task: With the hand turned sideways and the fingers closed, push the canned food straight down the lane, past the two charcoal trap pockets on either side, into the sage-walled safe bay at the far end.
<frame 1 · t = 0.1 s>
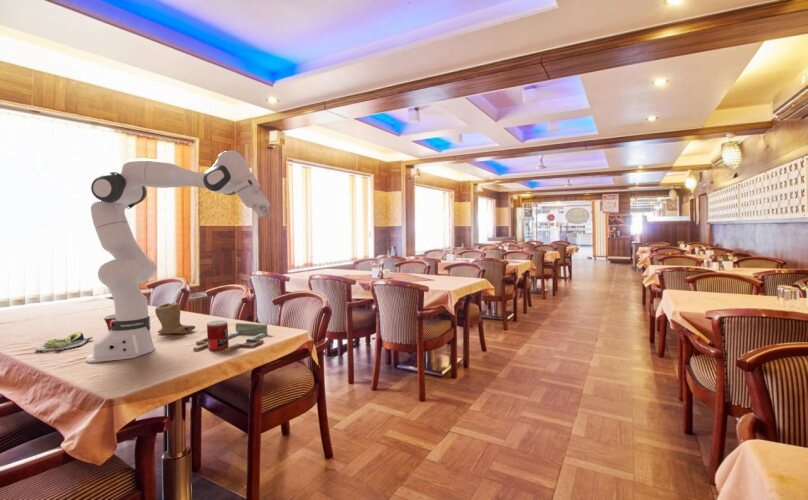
hand: (265, 216, 161), 54 cm above the table, tool tilted 30°, fingers open, 8 cm apart
salad plate: (64, 346, 176), on the table
plastic cup: (119, 340, 183), on the table
canned food: (218, 348, 165), on the table
lane: (233, 342, 174), on the table
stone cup: (173, 334, 192), on the table
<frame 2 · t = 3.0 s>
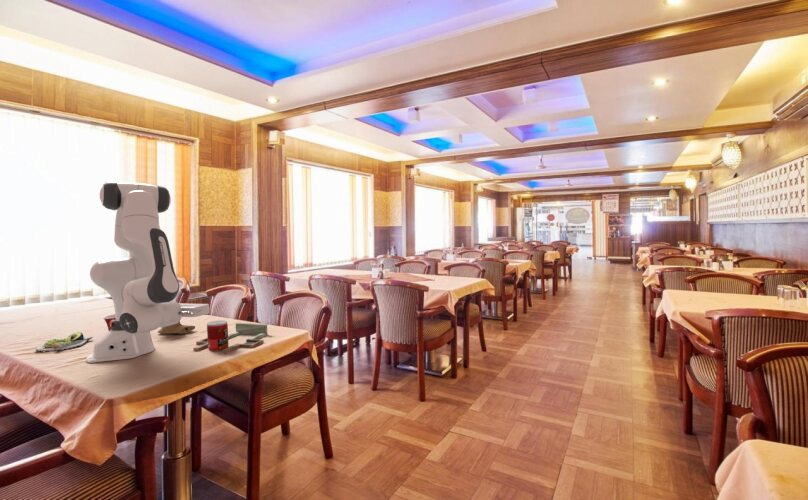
hand: (197, 305, 155), 20 cm above the table, tool horizontal, fingers open, 7 cm apart
nothing on the table moved.
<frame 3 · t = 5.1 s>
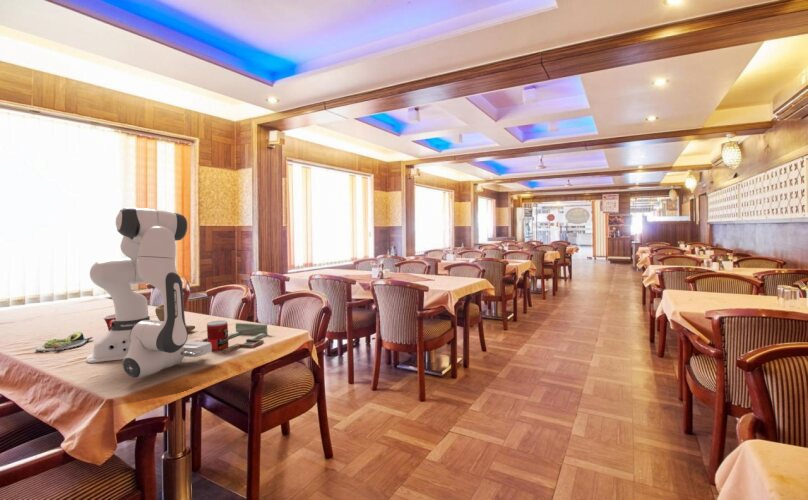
hand: (200, 342, 155), 6 cm above the table, tool horizontal, fingers closed
nothing on the table moved.
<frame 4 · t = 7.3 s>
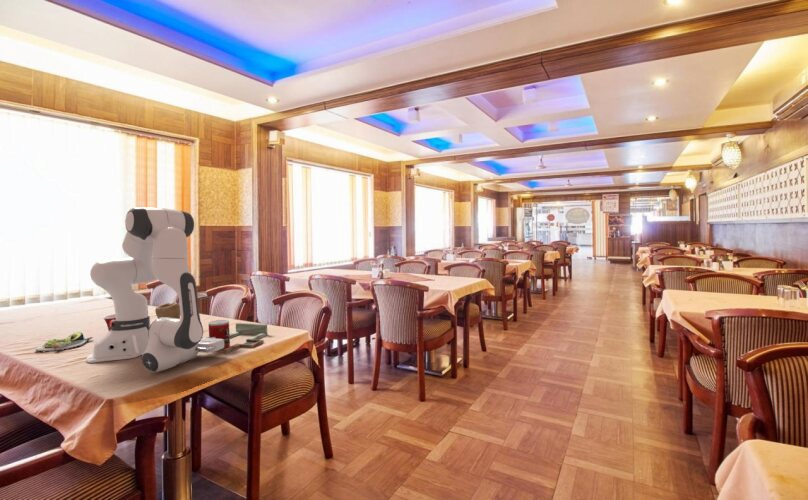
hand: (212, 338, 162), 5 cm above the table, tool horizontal, fingers closed, pressing on canned food
canned food: (220, 348, 166), on the table, touching gripper
everything else where it was.
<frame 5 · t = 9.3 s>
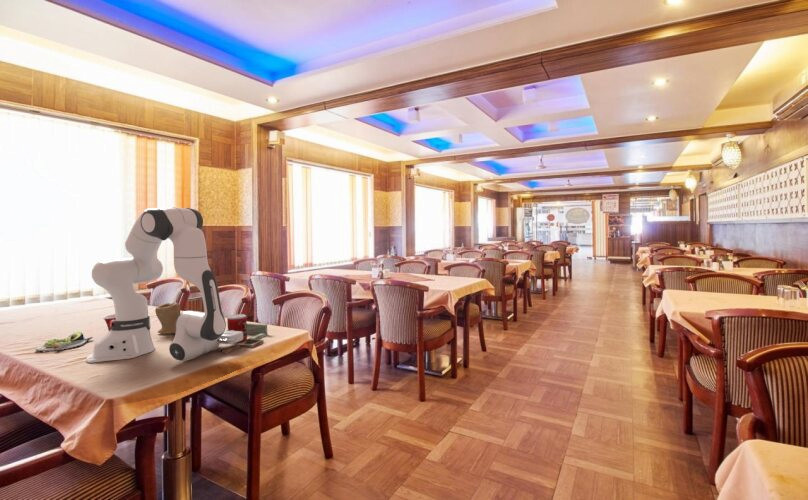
hand: (231, 331, 173), 5 cm above the table, tool horizontal, fingers closed, pressing on canned food
canned food: (237, 340, 177), on the table, touching gripper
everything else where it was.
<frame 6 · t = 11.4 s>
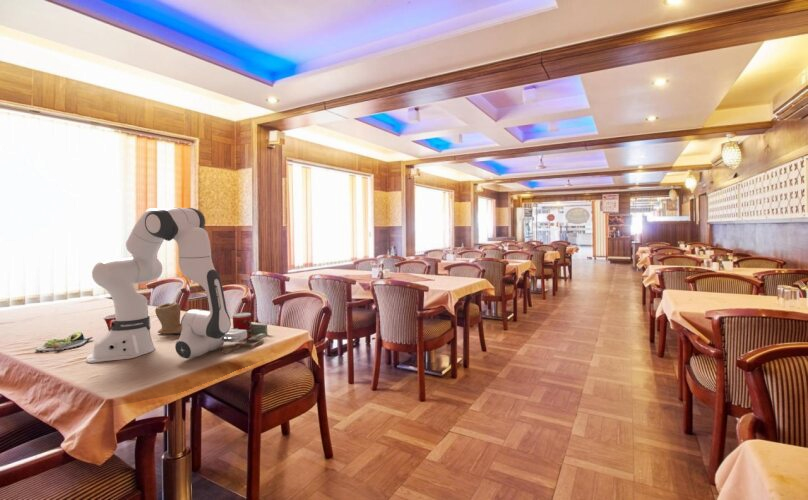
hand: (235, 329, 176), 5 cm above the table, tool horizontal, fingers closed
canned food: (243, 338, 181), on the table
everything else where it was.
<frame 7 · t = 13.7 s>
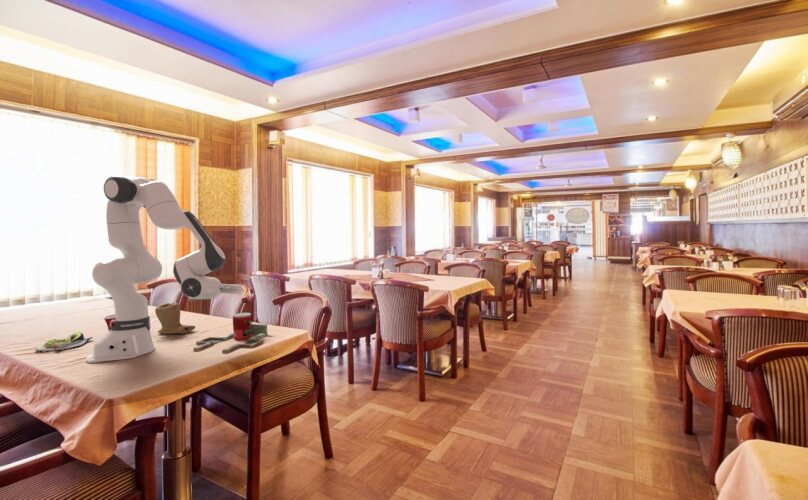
hand: (222, 288, 174), 24 cm above the table, tool horizontal, fingers closed
nothing on the table moved.
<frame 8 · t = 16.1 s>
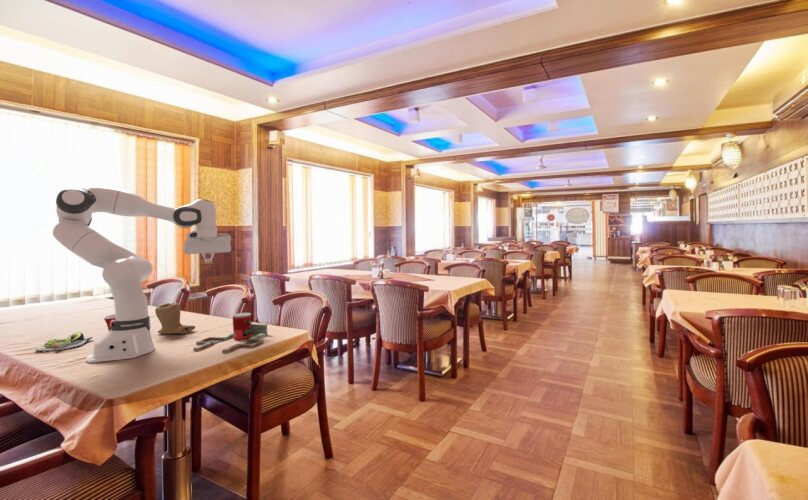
hand: (208, 262, 189), 34 cm above the table, tool pointing down, fingers closed
nothing on the table moved.
at the end: canned food 0.4 cm from the target spot on the lane, point 0.0 cm above the lane's base; canned food tilted 0° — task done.
